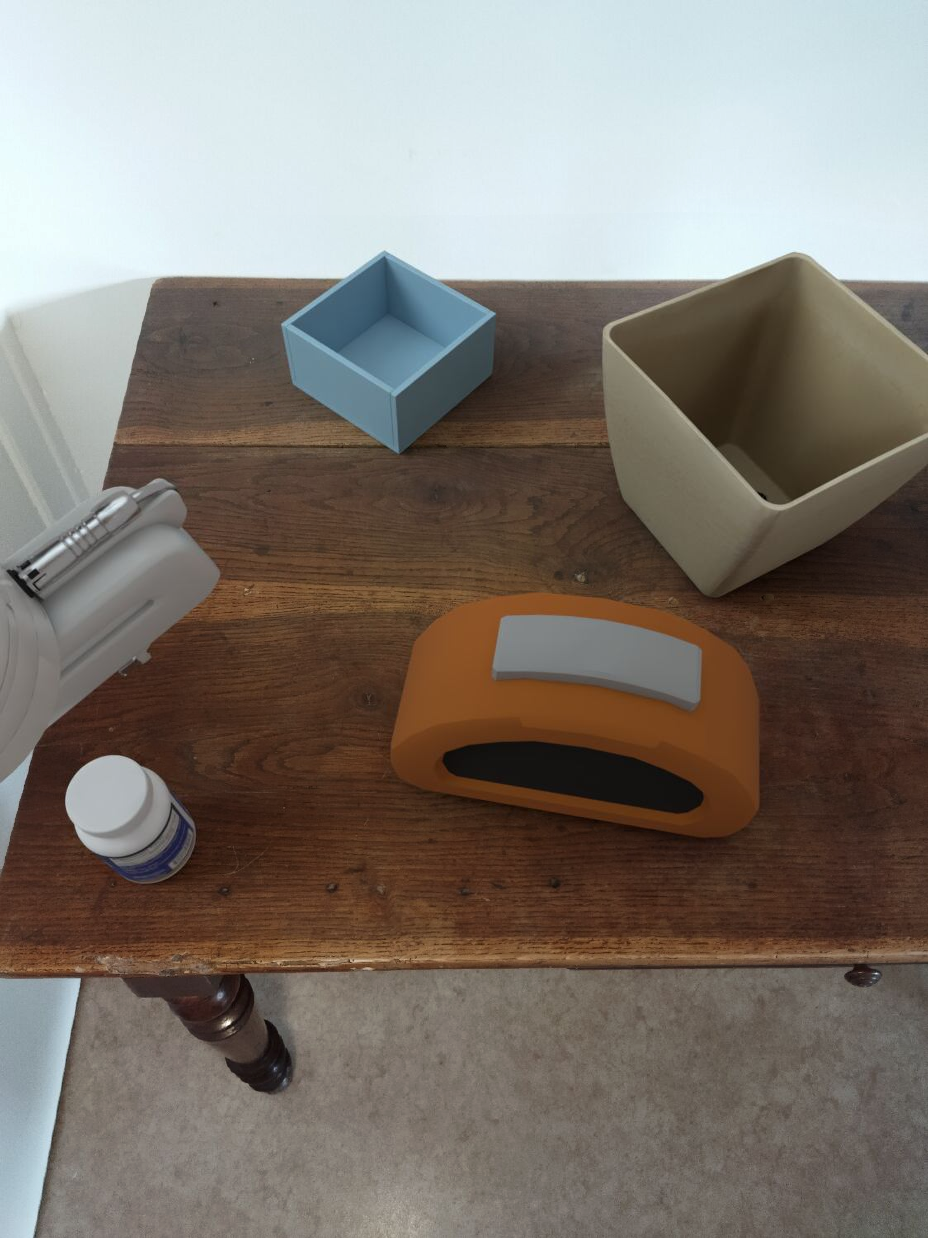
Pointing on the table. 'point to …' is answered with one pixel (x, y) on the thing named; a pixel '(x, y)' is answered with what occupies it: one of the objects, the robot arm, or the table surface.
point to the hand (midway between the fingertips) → (45, 723)
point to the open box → (390, 349)
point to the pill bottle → (130, 819)
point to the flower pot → (760, 417)
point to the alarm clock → (582, 714)
